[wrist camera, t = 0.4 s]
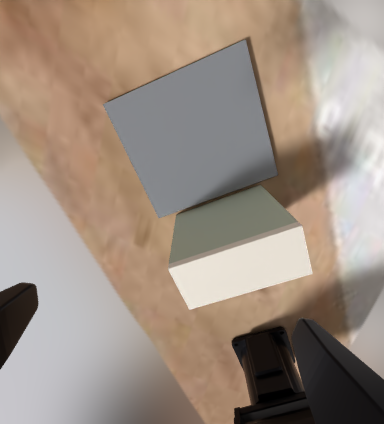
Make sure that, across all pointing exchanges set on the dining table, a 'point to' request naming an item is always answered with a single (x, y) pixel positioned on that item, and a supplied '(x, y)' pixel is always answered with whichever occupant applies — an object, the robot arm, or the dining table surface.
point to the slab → (236, 247)
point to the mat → (196, 131)
